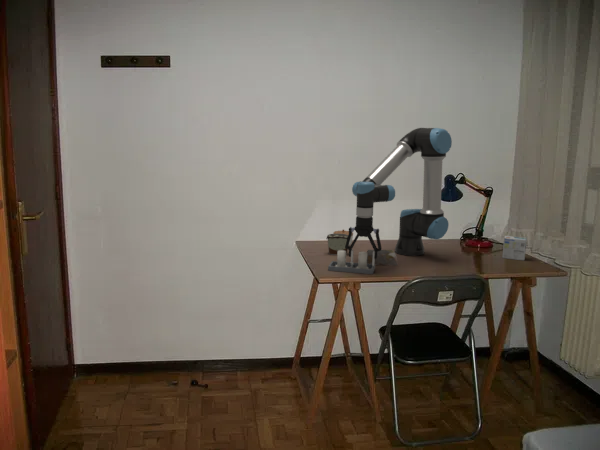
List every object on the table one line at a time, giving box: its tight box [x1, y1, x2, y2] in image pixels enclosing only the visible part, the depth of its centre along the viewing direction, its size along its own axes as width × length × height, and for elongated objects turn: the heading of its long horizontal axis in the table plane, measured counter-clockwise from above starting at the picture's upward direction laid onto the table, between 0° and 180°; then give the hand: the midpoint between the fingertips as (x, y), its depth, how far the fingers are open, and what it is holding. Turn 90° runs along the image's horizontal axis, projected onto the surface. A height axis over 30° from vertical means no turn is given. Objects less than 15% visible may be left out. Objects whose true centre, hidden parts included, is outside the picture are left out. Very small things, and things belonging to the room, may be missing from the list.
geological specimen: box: [366, 249, 399, 266], centre depth 247 cm, size 11×6×15 cm
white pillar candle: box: [355, 251, 369, 269], centre depth 232 cm, size 6×6×8 cm
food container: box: [326, 233, 349, 256], centre depth 262 cm, size 12×6×10 cm, turn 84°
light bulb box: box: [501, 235, 527, 261], centre depth 258 cm, size 11×7×11 cm, turn 65°
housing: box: [327, 250, 376, 275], centre depth 234 cm, size 20×10×8 cm, turn 76°
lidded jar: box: [332, 229, 354, 246], centre depth 277 cm, size 11×11×9 cm
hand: (362, 264), depth 233 cm, fingers open, 9 cm apart
